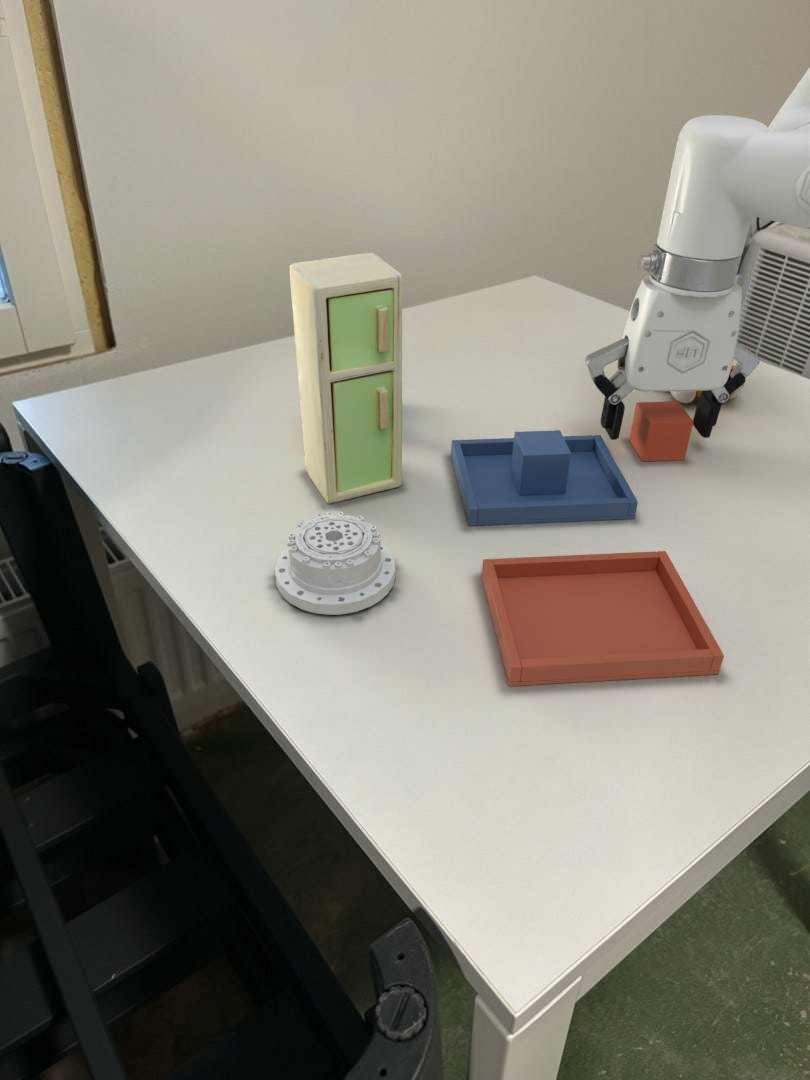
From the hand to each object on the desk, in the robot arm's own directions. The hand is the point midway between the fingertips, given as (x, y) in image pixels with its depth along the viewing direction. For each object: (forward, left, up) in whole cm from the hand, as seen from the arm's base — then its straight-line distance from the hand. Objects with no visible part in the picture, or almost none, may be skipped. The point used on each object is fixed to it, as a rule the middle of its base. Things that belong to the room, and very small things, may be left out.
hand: (655, 432), depth 86 cm
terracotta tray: (+14, +26, -2) cm, 30 cm away
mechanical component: (+34, +19, -2) cm, 39 cm away
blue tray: (+14, +6, -2) cm, 15 cm away
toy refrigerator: (+32, +4, -2) cm, 32 cm away
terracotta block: (0, 0, -2) cm, 2 cm away
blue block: (+14, +6, -2) cm, 15 cm away
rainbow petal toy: (-9, -13, -2) cm, 16 cm away
